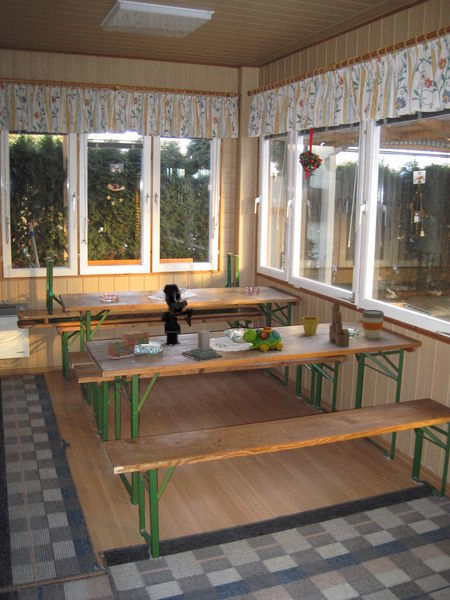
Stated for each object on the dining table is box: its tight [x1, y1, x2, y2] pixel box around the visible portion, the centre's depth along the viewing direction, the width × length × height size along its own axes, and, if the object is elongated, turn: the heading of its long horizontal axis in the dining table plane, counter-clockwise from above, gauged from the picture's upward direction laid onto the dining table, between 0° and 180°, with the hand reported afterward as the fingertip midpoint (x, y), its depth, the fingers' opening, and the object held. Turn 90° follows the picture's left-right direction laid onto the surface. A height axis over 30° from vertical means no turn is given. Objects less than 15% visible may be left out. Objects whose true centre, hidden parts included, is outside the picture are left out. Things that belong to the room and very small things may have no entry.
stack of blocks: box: [107, 329, 150, 357], centre depth 339 cm, size 21×6×12 cm, turn 128°
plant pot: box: [301, 315, 320, 336], centre depth 386 cm, size 10×10×10 cm
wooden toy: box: [328, 300, 350, 348], centre depth 362 cm, size 16×7×25 cm, turn 13°
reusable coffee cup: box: [361, 309, 385, 339], centre depth 378 cm, size 13×13×15 cm
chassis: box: [181, 347, 223, 361], centre depth 339 cm, size 18×14×4 cm
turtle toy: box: [242, 326, 284, 353], centre depth 353 cm, size 17×23×12 cm
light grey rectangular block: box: [197, 329, 211, 353], centre depth 336 cm, size 4×4×12 cm
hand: (183, 327), depth 344 cm, fingers open, 9 cm apart
